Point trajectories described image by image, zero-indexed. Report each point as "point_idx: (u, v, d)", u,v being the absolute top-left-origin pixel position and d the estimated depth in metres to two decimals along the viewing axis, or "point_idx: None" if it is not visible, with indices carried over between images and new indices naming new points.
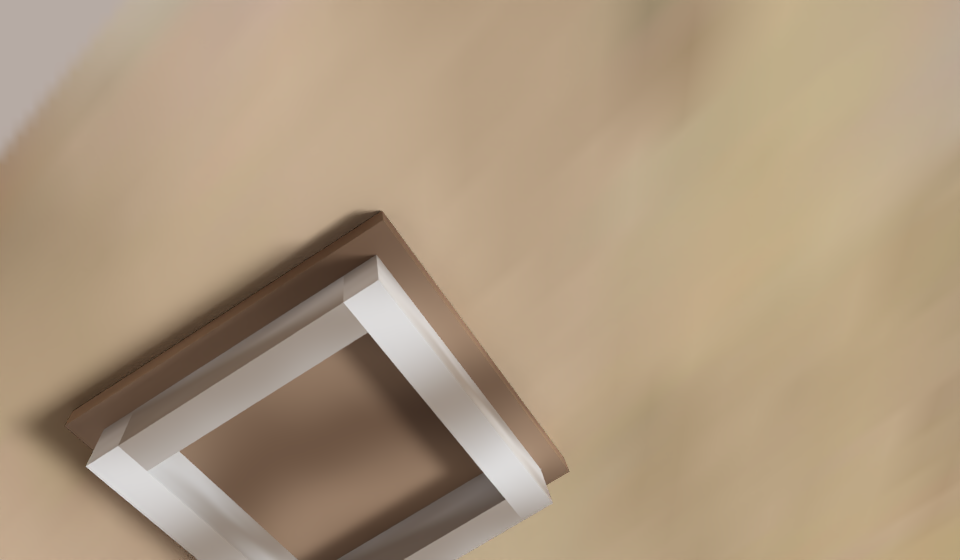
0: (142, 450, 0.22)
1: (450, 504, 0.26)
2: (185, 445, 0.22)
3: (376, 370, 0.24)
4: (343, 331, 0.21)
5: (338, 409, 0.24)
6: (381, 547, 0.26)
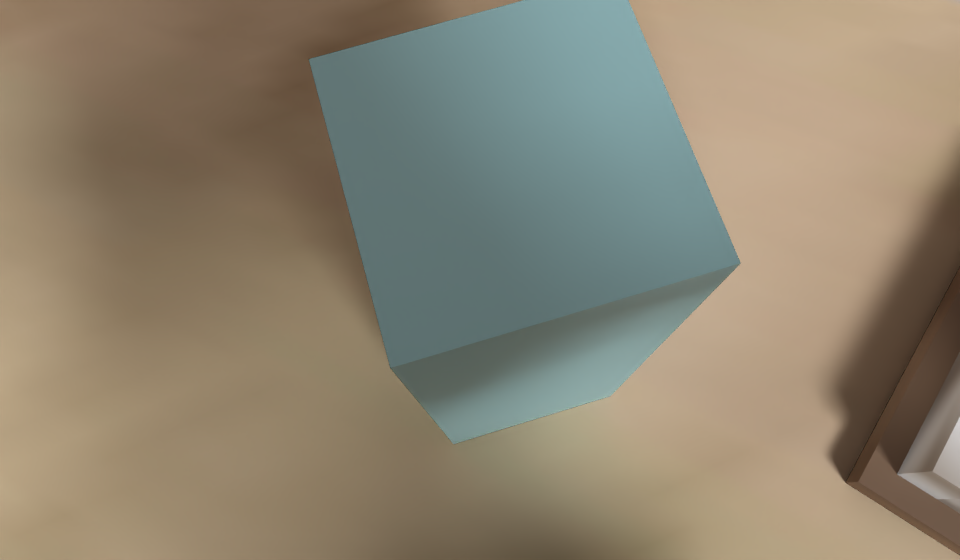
0: None
1: None
2: None
3: None
4: None
5: None
6: None
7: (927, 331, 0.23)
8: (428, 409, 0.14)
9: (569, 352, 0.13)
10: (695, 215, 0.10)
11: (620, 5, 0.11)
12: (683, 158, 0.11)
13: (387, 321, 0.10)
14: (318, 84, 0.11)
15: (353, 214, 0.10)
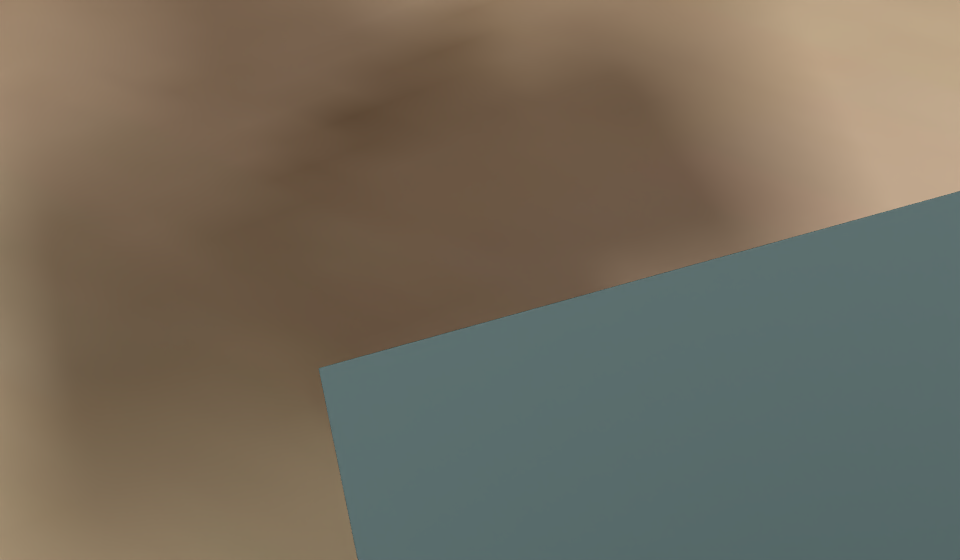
0: None
1: None
2: None
3: None
4: None
5: None
6: None
7: None
8: None
9: None
10: None
11: None
12: None
13: None
14: (348, 461, 0.03)
15: None
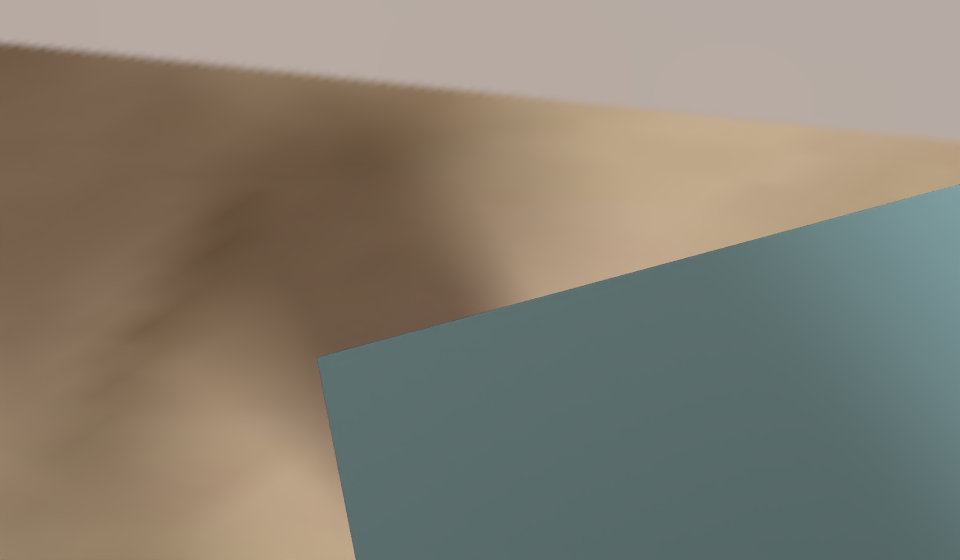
0: None
1: None
2: None
3: None
4: None
5: None
6: None
7: None
8: None
9: None
10: None
11: None
12: None
13: None
14: (345, 447, 0.03)
15: None
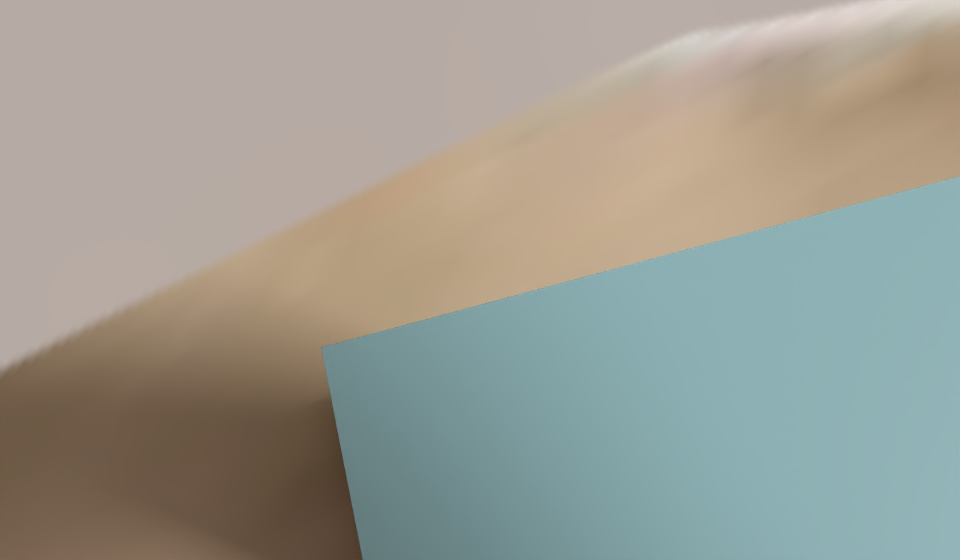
0: None
1: None
2: None
3: None
4: None
5: None
6: None
7: None
8: None
9: None
10: None
11: None
12: None
13: None
14: (349, 436, 0.03)
15: None
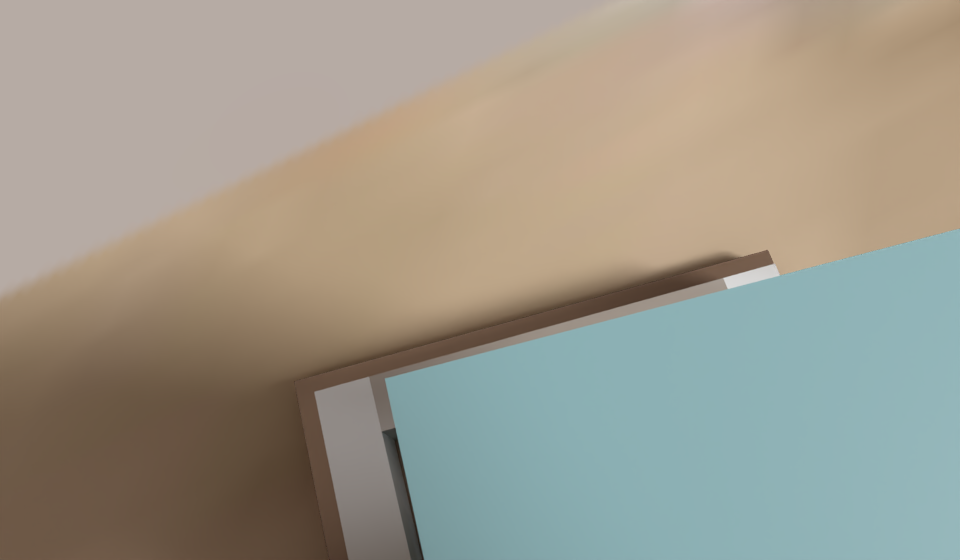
0: None
1: None
2: None
3: None
4: None
5: None
6: None
7: None
8: None
9: None
10: None
11: None
12: None
13: None
14: (409, 453, 0.04)
15: None
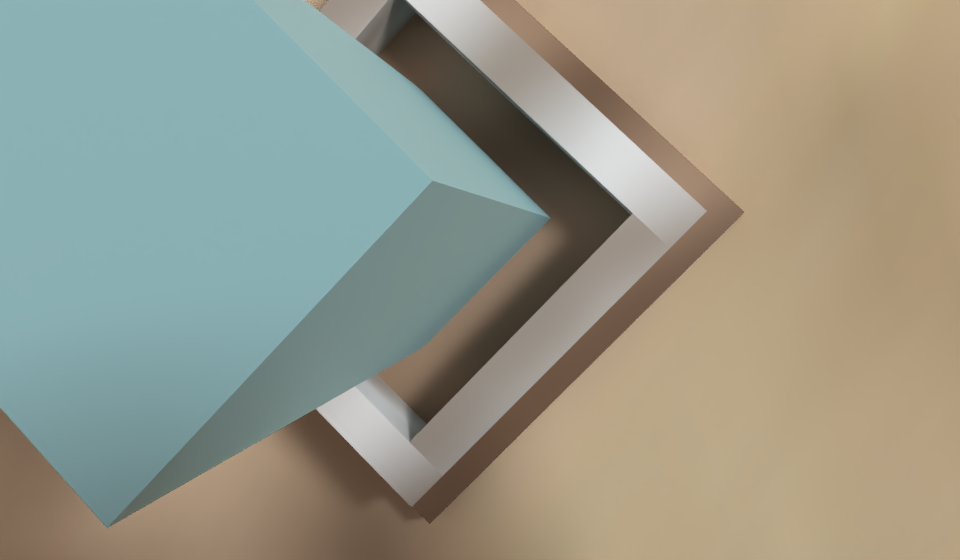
0: None
1: None
2: None
3: (444, 98, 0.20)
4: None
5: None
6: None
7: None
8: (298, 417, 0.12)
9: (377, 312, 0.10)
10: (347, 144, 0.07)
11: None
12: (295, 68, 0.07)
13: (75, 475, 0.08)
14: None
15: None
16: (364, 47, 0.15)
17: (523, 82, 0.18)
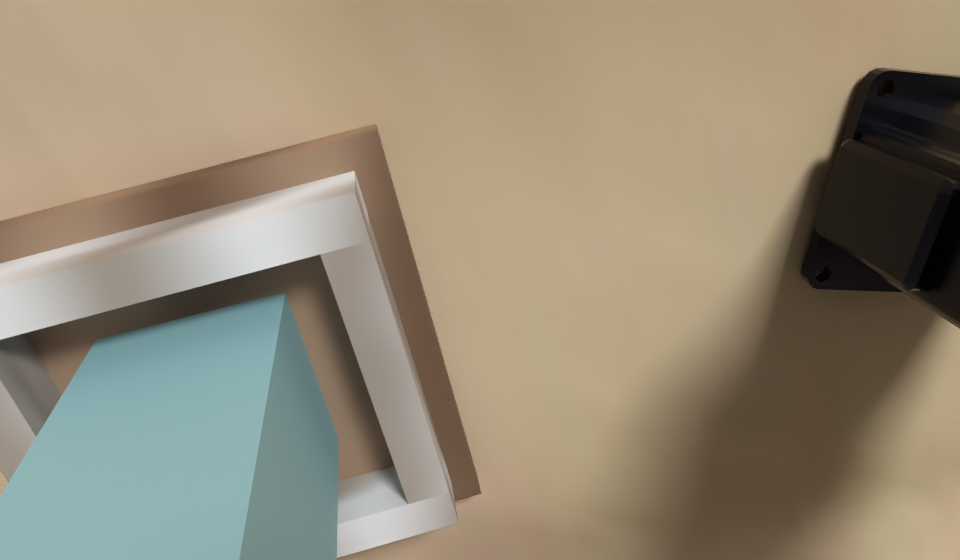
0: None
1: None
2: None
3: (116, 324, 0.19)
4: None
5: None
6: None
7: None
8: None
9: None
10: None
11: None
12: None
13: None
14: None
15: None
16: (29, 462, 0.15)
17: (139, 282, 0.17)
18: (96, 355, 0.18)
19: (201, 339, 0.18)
